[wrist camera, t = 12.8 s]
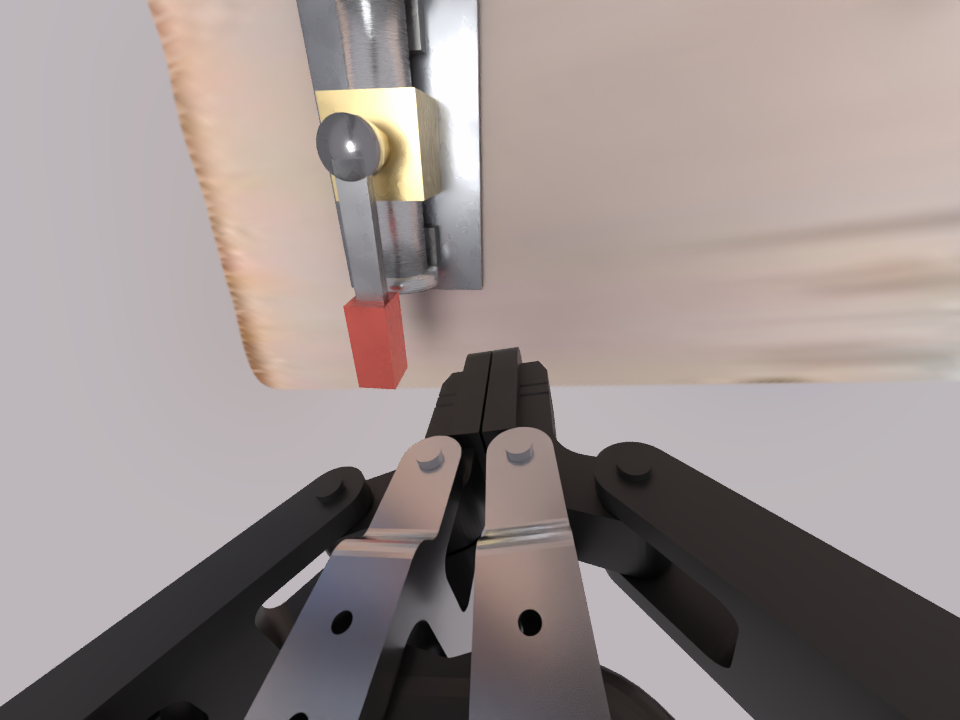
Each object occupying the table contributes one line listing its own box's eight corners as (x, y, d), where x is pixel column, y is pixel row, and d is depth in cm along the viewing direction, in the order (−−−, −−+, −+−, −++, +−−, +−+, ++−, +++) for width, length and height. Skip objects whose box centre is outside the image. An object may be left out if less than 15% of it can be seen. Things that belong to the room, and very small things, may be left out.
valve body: (295, -44, 24) (185, -135, 16) (477, -57, 23) (453, -163, 15) (356, 284, 35) (307, 322, 27) (482, 286, 34) (469, 326, 26)
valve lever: (327, 115, 21) (298, 110, 18) (383, 114, 20) (362, 109, 18) (370, 365, 29) (355, 386, 26) (411, 367, 28) (399, 389, 26)
